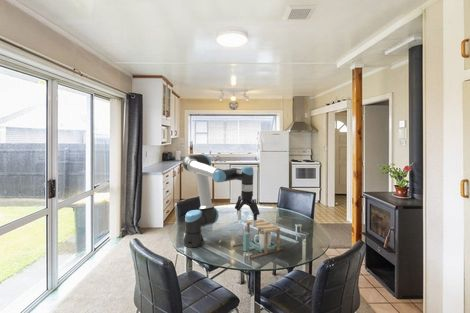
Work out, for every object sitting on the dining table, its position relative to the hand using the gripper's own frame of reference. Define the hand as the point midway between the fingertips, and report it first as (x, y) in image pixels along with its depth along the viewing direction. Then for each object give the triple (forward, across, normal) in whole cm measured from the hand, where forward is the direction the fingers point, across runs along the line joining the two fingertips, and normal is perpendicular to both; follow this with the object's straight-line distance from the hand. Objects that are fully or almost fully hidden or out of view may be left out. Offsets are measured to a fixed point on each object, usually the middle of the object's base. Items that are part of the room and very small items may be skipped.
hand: (246, 222), depth 172 cm
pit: (+22, +2, +31) cm, 38 cm away
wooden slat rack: (+22, -2, +14) cm, 26 cm away
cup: (+22, -1, +18) cm, 29 cm away
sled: (+22, -2, +14) cm, 26 cm away
